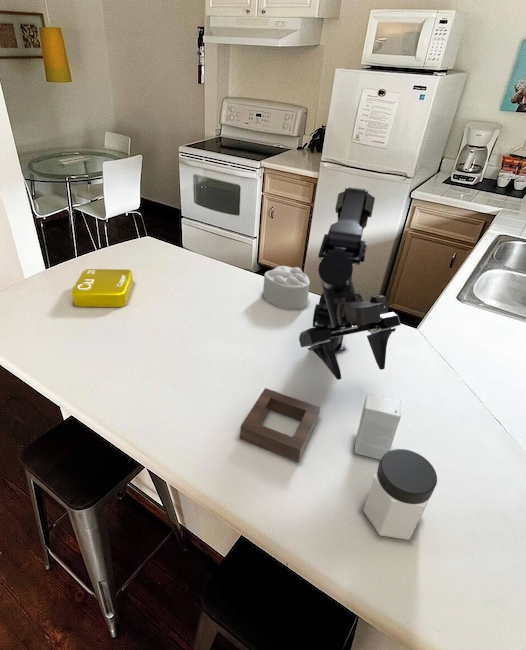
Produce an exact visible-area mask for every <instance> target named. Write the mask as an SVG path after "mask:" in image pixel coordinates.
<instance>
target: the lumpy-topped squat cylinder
mask: <svg viewBox="0 0 526 650" xmlns="http://www.w3.org/2000/svg"><path fill="white" fill-rule="evenodd" d="M310 284H311V281H310V278H309V276H308V275H307V274H306V273H304V272H303V270H302V269H301V268H300V267H297V266H296V267H291V266H287V265H279V266H276V267H275V268H273V269H270V270H268V271H265V273H264V277H263V289H262V290H263V291H262V297H263V299H264V300H266V301H267V302H268V303H270V304H272V305H273V306H276V307H278V308H281V309H285V310H292V311H293V310H294V311H295V310H302V309H305V308H306V307H307V306H308V299H309V293H310Z"/></svg>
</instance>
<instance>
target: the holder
mask: <svg viewBox="0 0 526 650" xmlns="http://www.w3.org/2000/svg"><path fill="white" fill-rule="evenodd" d="M270 411H272V412H275V413H278V414H280V415H283V416H285V417H288V418H290V419H294V420H296V421H299V422H300V423H299V425H298V426H297V429H296V431H295V433H294V435H293V436H292V435H289V434H287V433H283V432H280V431H278V430H276V429H272V428H270V427H268V426H265V425H262V423H263V422H264V420H265V418H266V417H267V415H268V414H269V412H270ZM320 411H321V406H318V405H316V404H313V403H309V402H308V401H307V402H306V401H304V400H301V399H298V398H295V397H292V396H289V395H287V394H283V393H281V392H278V391H276V390H273V389H270V388H266V387H265V388H264V389H263V390H262V392H261V394H260V395H259V396H258V398H257V400H256V401H255V403H254V404H253V406H252V408H251V409H250V411H249V412H248V414H247V415H246V417H245V418H244V420H243V422H242V423H241V424H240V430H239V439H240V440H243V441H245V442H247V443H250V444H252V445H254V446H258V447H260V448H262V449H264V450H267V451H270V452H271V453H275V454H277V455H278V456H282V457H284V458H287V459H289V460H292V461H294V462H297V463H299V462H300V460H301V458H302V456H303V454H304V451H305V449H306V446H307V444H308V442H309V440H310V438H311V436H312V434H313V431H314V430H315V428H316V425H317V424H318V422H319V417H320Z"/></svg>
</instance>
